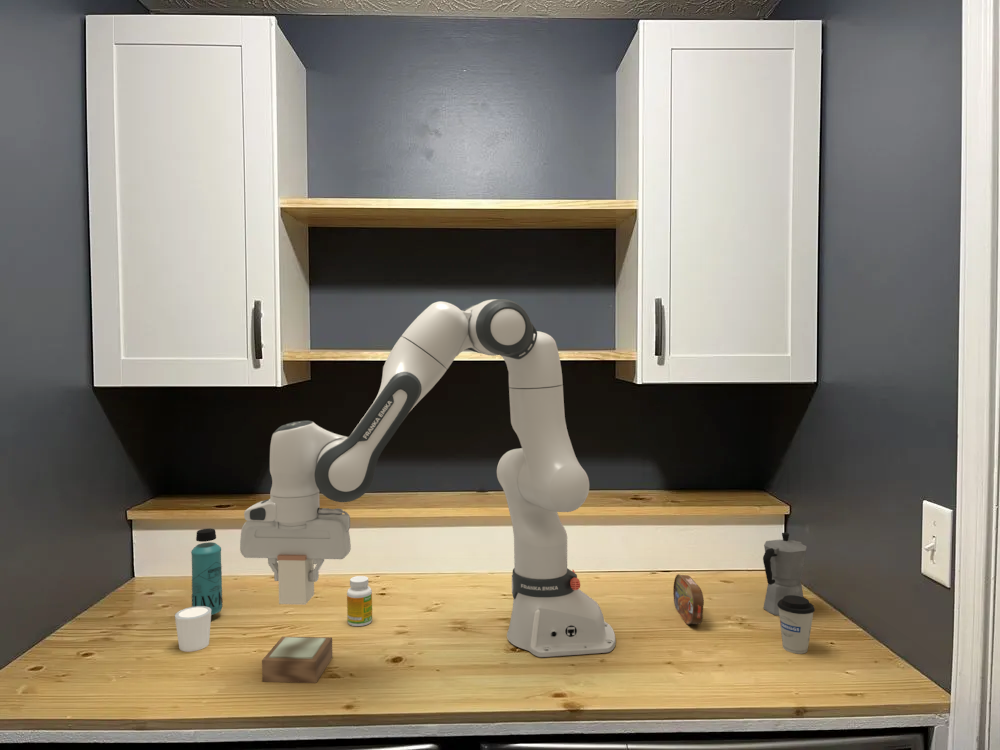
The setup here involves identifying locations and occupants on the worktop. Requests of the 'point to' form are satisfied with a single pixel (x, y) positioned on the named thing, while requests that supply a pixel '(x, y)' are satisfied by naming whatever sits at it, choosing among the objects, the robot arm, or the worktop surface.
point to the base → (297, 659)
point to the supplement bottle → (359, 602)
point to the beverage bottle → (207, 572)
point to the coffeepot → (783, 570)
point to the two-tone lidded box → (295, 579)
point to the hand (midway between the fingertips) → (296, 580)
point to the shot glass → (193, 628)
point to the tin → (688, 599)
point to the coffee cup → (795, 623)
